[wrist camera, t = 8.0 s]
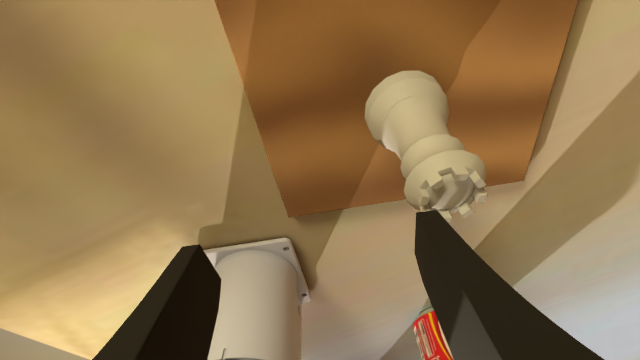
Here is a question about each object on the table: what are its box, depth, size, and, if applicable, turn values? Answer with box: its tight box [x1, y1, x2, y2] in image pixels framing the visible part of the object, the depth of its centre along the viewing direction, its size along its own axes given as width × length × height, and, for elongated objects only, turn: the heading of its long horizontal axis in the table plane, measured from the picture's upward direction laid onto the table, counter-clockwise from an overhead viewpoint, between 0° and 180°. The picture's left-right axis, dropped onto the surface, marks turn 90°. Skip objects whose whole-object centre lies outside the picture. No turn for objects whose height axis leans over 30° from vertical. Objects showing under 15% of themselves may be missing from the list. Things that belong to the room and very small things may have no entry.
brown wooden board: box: [215, 0, 579, 217], centre depth 19 cm, size 15×17×1 cm
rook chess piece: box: [364, 71, 488, 223], centre depth 15 cm, size 4×4×8 cm
